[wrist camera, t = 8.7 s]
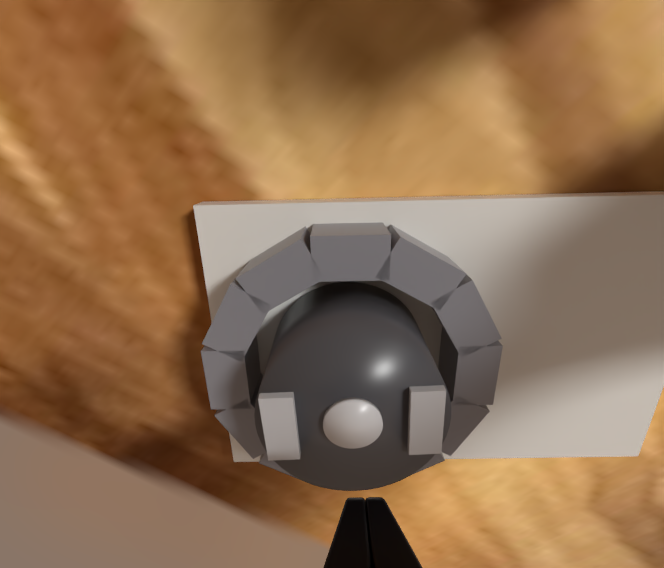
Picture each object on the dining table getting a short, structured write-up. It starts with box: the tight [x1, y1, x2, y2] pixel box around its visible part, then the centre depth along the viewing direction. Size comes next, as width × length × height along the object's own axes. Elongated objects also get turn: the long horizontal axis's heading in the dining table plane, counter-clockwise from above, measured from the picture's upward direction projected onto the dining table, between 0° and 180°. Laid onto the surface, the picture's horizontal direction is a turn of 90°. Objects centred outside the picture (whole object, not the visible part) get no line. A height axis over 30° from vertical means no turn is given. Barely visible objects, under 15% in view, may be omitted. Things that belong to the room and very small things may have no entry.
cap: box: [254, 282, 451, 491], centre depth 13 cm, size 6×6×4 cm
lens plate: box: [193, 191, 664, 485], centre depth 14 cm, size 19×12×3 cm, turn 91°
